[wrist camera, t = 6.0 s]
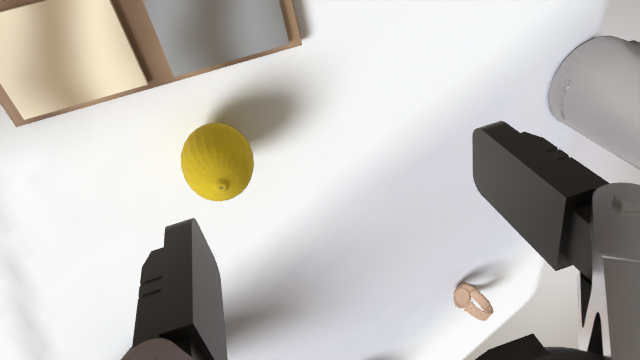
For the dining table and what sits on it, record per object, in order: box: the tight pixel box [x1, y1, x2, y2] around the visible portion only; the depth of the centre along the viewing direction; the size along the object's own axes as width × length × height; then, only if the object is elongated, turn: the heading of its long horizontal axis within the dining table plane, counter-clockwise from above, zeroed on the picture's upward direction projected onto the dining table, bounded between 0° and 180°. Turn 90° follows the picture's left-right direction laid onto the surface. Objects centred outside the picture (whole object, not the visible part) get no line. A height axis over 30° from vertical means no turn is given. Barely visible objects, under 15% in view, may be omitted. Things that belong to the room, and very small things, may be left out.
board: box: [0, 0, 302, 127], centre depth 32 cm, size 22×8×2 cm, turn 102°
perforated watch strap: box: [453, 283, 493, 321], centre depth 57 cm, size 3×5×5 cm, turn 58°
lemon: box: [181, 123, 254, 201], centre depth 35 cm, size 6×6×8 cm
